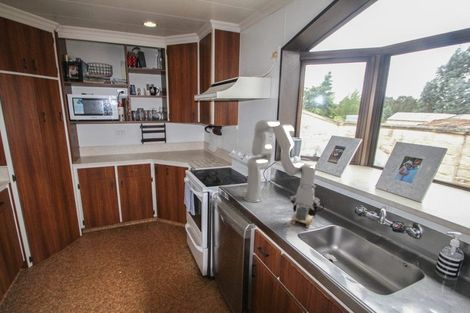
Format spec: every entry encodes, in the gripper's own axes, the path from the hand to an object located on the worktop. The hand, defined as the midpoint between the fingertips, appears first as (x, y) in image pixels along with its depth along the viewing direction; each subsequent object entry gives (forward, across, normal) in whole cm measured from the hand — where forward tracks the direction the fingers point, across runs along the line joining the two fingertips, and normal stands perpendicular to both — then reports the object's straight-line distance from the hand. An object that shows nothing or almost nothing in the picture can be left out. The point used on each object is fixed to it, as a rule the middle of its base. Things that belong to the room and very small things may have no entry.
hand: (302, 213), depth 143 cm
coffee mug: (+6, -3, -17) cm, 18 cm away
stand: (+6, 0, 0) cm, 6 cm away
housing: (+2, 0, 0) cm, 2 cm away
